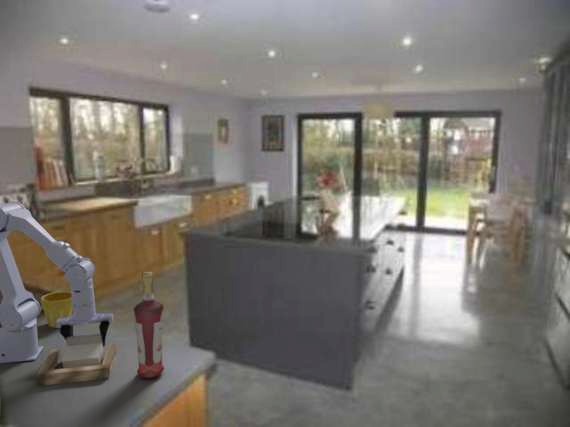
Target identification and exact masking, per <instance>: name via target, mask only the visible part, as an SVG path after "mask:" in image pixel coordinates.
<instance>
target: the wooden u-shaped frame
mask: <svg viewBox="0 0 570 427" xmlns="http://www.w3.org/2000/svg"><path fill="white" fill-rule="evenodd" d="M105 351H106V352H105V355H104V356H103V359H102V361H101V362H102V364H100V365H95V366H85V367H74V368H57V367H58V364H59V363H60V360H62V359H61V357H62V356H61V348H54V349H51V351H50V352H49V354H48V355H47V357H46V359H45V360H44V362H43V363H42V365H41V366H40V369H39V370H38V371H37V373H36V386H37V387H39V386H40V387H41V386H50V385H59V384H61V385H62V384H67V383H77V382H78V383H79V382H88V381H89V380H90V381H97V379H100V380H108V379H110V377H111V373H112V370H113V368H114V364H115V361H114V360H116V357H117V355H118V354H117V343H112V344H111V343H110V344H108V346H107V349H106V350H105ZM107 378H108V379H107Z"/></svg>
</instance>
